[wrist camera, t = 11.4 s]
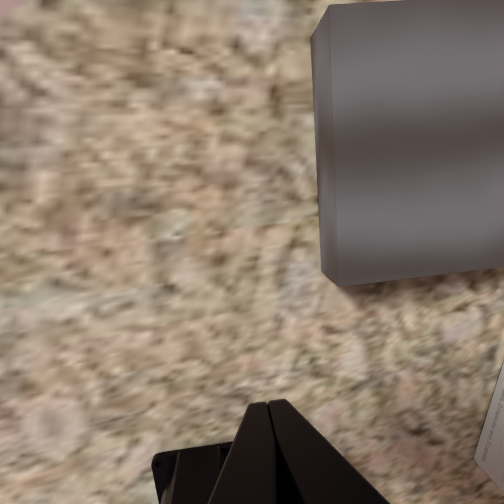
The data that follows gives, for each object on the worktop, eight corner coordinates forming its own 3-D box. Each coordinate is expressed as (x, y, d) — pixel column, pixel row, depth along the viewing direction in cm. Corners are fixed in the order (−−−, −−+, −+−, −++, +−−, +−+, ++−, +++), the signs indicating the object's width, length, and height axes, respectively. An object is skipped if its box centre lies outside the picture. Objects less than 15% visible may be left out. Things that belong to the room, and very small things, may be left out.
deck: (502, 250, 20) (550, 261, 17) (321, 271, 19) (339, 286, 16) (521, 23, 17) (582, -11, 14) (310, 37, 16) (329, 4, 13)
